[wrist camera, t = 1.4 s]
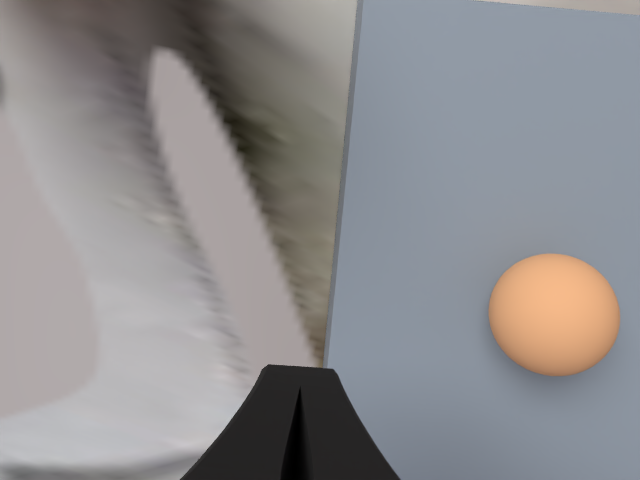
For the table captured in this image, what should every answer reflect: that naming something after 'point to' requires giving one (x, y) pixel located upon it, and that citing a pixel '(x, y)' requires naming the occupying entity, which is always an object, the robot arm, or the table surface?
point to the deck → (485, 233)
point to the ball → (554, 314)
